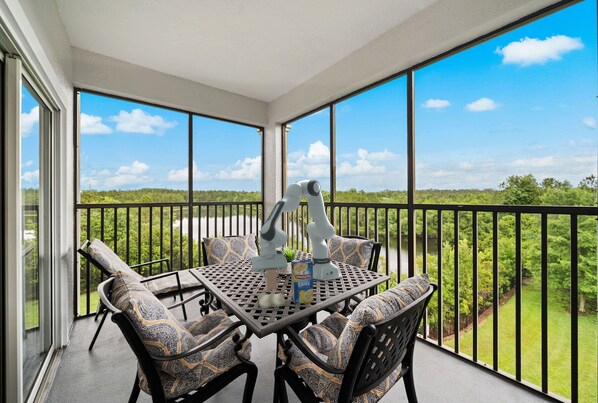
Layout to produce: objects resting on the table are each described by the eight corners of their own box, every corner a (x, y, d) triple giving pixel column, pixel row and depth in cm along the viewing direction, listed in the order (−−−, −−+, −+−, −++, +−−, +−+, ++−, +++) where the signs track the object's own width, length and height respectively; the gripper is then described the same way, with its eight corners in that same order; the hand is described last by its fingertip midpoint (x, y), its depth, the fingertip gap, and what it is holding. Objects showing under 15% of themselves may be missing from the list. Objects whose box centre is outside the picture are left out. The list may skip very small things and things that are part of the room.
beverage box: (291, 298, 147) (291, 260, 146) (310, 296, 149) (309, 259, 148) (294, 303, 140) (293, 264, 139) (313, 301, 142) (313, 262, 142)
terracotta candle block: (275, 285, 146) (274, 268, 146) (276, 289, 141) (276, 271, 140) (265, 286, 145) (265, 269, 144) (266, 290, 140) (266, 272, 139)
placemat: (281, 295, 152) (281, 293, 152) (286, 305, 138) (286, 303, 138) (257, 297, 148) (257, 295, 148) (260, 308, 135) (260, 306, 135)
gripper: (250, 253, 146) (252, 275, 137) (286, 251, 151) (289, 272, 142) (250, 259, 151) (251, 281, 142) (284, 257, 156) (288, 278, 147)
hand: (271, 277), depth 142 cm, fingers closed on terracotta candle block, 5 cm apart
